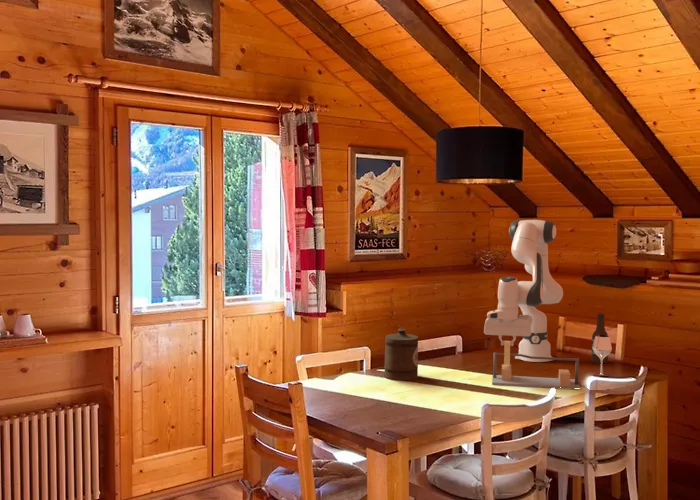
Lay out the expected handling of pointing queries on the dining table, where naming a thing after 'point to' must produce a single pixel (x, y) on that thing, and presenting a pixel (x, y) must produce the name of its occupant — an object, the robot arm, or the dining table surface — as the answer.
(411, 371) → the wooden container
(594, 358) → the beer bottle
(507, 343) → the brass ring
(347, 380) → the dining table surface
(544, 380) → the stand
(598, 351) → the wineglass
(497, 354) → the rod
